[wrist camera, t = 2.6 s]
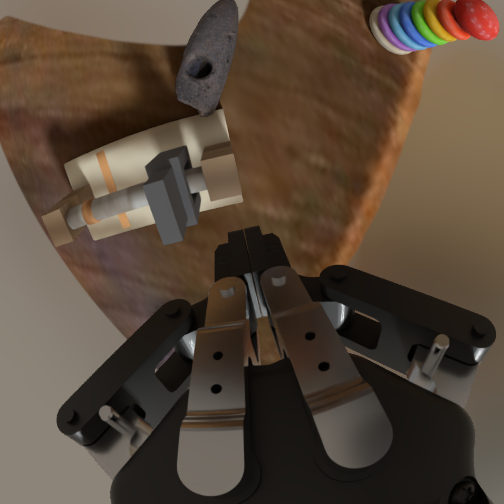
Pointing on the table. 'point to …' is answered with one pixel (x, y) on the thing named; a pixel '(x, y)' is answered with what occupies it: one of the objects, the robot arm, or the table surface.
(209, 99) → the perforated stone tool
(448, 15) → the stacking toy
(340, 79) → the table surface
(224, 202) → the pipe stand
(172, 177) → the collar
